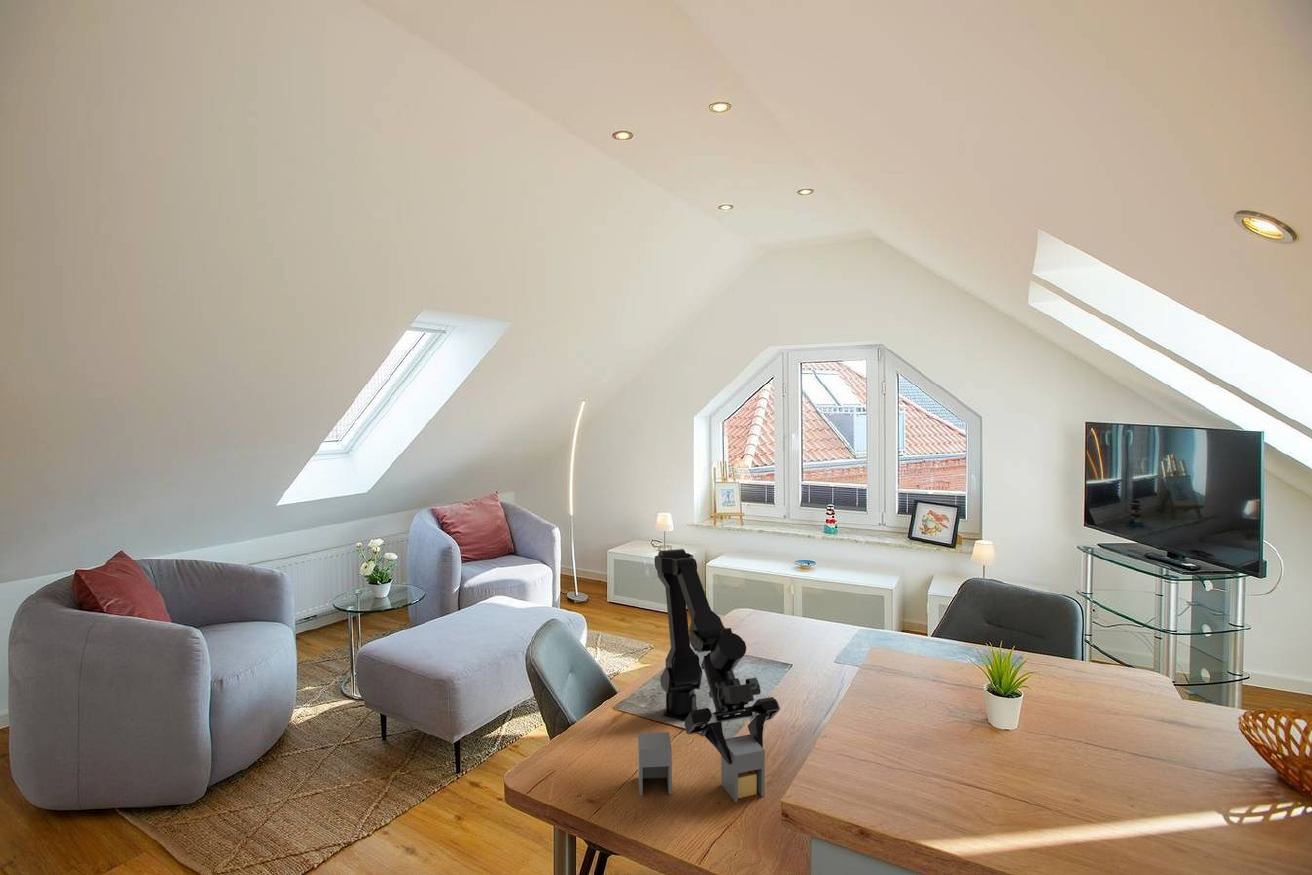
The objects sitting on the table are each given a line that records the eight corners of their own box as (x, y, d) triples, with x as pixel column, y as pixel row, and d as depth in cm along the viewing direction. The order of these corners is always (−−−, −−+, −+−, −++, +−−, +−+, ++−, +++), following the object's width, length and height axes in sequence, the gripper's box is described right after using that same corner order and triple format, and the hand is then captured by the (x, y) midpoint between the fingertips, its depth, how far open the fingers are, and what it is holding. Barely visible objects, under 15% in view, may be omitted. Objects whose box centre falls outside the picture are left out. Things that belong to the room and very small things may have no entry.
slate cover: (638, 776, 130) (638, 733, 129) (669, 775, 130) (668, 731, 130) (639, 795, 124) (639, 749, 123) (671, 794, 124) (671, 748, 124)
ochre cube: (728, 786, 126) (728, 766, 126) (747, 782, 128) (747, 762, 128) (737, 798, 123) (737, 777, 122) (756, 794, 124) (756, 773, 124)
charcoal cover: (721, 784, 127) (721, 739, 127) (749, 778, 129) (749, 734, 129) (735, 802, 121) (735, 755, 121) (764, 795, 123) (764, 749, 123)
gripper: (689, 670, 125) (712, 755, 115) (775, 657, 131) (804, 737, 121) (675, 693, 133) (696, 774, 123) (757, 680, 139) (783, 757, 129)
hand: (745, 760), depth 124 cm, fingers closed on charcoal cover, 6 cm apart
